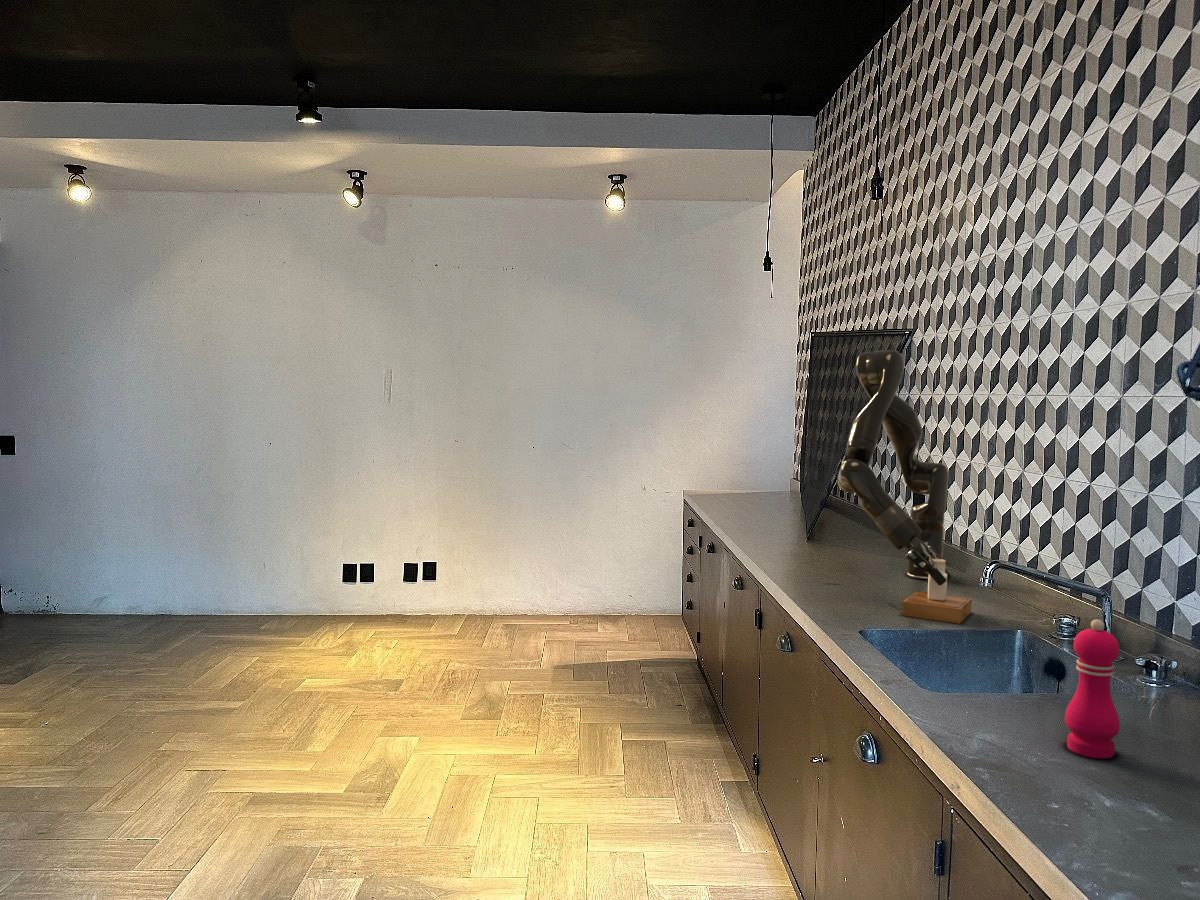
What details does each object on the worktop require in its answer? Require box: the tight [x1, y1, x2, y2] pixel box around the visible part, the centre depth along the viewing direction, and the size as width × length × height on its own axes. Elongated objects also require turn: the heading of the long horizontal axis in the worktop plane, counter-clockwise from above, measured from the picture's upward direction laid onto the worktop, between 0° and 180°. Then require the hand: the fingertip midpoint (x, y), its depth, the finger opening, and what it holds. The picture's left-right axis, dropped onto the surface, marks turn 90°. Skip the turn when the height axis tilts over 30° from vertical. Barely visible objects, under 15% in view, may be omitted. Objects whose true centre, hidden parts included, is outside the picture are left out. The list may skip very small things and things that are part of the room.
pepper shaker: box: [927, 558, 948, 601], centre depth 218 cm, size 4×4×10 cm
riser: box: [902, 591, 972, 625], centre depth 219 cm, size 13×13×4 cm
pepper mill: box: [1064, 618, 1121, 760], centre depth 135 cm, size 7×7×20 cm
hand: (946, 581), depth 217 cm, fingers closed on pepper shaker, 4 cm apart
